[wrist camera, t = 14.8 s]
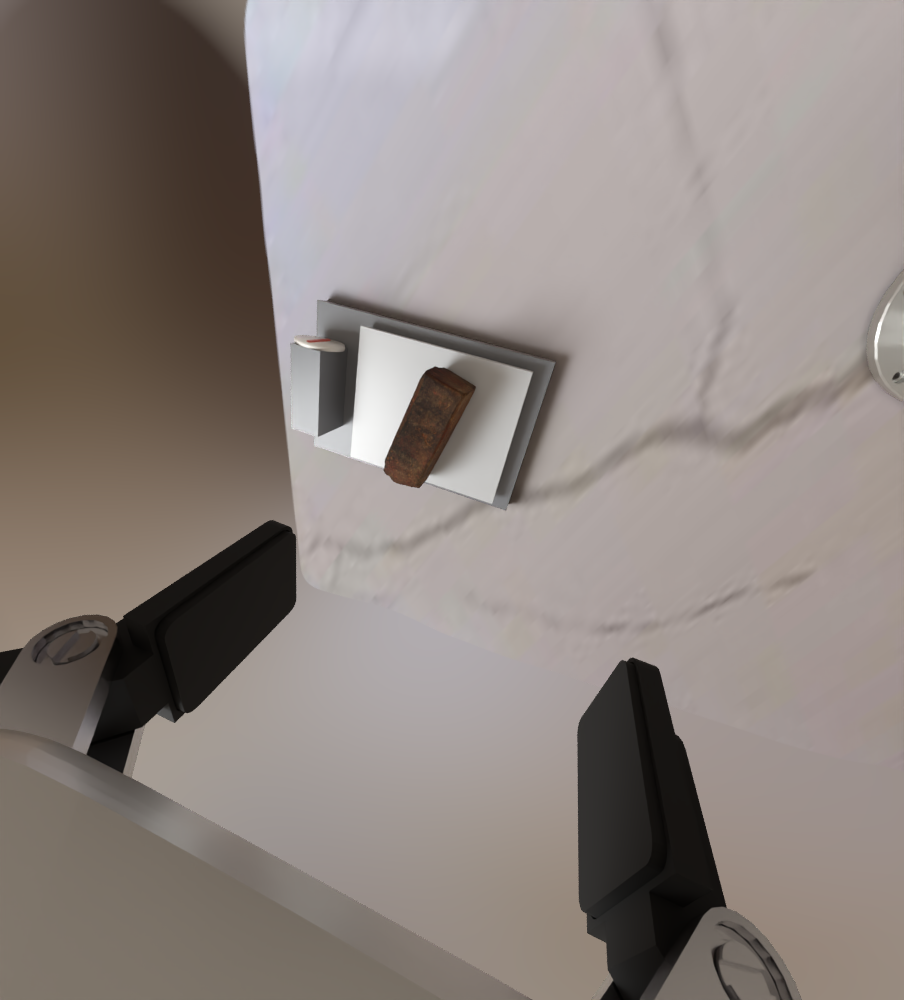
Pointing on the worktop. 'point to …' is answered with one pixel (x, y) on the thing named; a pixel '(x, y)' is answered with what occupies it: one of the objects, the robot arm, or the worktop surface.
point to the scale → (390, 387)
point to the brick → (427, 426)
